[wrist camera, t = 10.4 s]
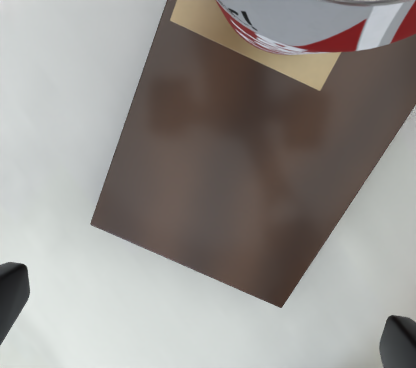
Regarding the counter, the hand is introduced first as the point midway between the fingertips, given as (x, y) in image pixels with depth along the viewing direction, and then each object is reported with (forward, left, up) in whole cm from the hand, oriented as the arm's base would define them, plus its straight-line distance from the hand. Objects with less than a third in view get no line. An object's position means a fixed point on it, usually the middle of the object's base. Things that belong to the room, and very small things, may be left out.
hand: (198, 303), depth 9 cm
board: (0, -4, -13) cm, 13 cm away
